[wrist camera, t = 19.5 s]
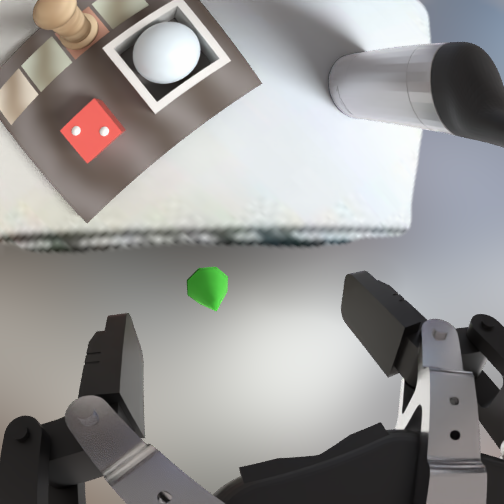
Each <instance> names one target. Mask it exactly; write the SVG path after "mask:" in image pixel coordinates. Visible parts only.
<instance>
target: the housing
mask: <svg viewBox="0 0 504 504" xmlns="http://www.w3.org/2000/svg"><path fill="white" fill-rule="evenodd" d="M173 18H176V20H177V21H178V22H179V23H181V24H183V25H186V26H187V27H189V28H190V29H191V30H192V31H193V32H194V33H195V34H196V36H197V38H198V40H199V43H200V50H201V51H202V52H203V54H204V55H205V56H206V57H207V59H208V60H209V61H210V63H211V64H210V65H209V66H207V67H206V68H204V69H203V70H201V71H200V72H198V73H197V74H195V75H194V76H192V77H191V78H190V79H188V80H187V81H185V82H184V83H182V84H181V85H180V86H178V87H177V88H175V89H174V90H173V91H171V92H170V93H169V94H167V95H166V96H165V97H163V98H162V99H161V100H159V101H158V102H156V100H155V99H154V98H153V96H152V95H151V94H150V93H149V91H148V90H147V89H146V88H145V86H144V85H143V84H142V83H141V82H140V80H139V79H138V78H137V77H136V75H135V74H134V73H133V72H132V70H131V69H130V68H129V67H128V65H127V64H126V63H125V62H124V60H123V59H122V58H121V57H120V56H119V55H120V54H122V53H123V52H124V51H126V50H127V49H128V48H130V47H131V46H132V45H134V44H135V43H136V41H137V39H138V38H139V36H140V35H141V34H142V33H143V32H144V31H145V30H146V29H148V28H149V27H151V26H153V25H155V24H158V23H162V22H168V21H170V20H171V19H173ZM102 49H103V50H104V51H105V52H106V54H107V55H108V56H109V57H110V59H111V60H112V61H113V62H114V64H115V65H116V66H117V67H118V69H119V70H120V71H121V72H122V73H123V75H124V76H125V77H126V78H127V80H128V81H129V82H130V83H131V85H132V86H133V87H134V88H135V90H136V91H137V92H138V93H139V95H140V96H141V97H142V98H143V100H144V101H145V102H146V103H147V105H148V106H149V107H150V108H151V110H152V111H153V112H154V113H155V114H156V113H157V112H159V111H160V110H161V109H163V108H164V107H165V106H167V105H168V104H169V103H171V102H172V101H173V100H175V99H176V98H177V97H179V96H180V95H181V94H183V93H184V92H186V91H187V90H188V89H190V88H191V87H193V86H194V85H196V84H197V83H198V82H200V81H201V80H203V79H204V78H206V77H207V76H209V75H210V74H212V73H213V72H215V71H216V70H218V69H219V68H221V67H223V66H224V65H226V64H227V63H229V62H230V61H231V60H230V59H229V57H228V56H227V55H226V53H225V52H224V51H223V49H222V48H221V47H220V45H219V44H218V43H217V41H216V40H215V39H214V37H213V36H212V35H211V34H210V32H209V31H208V30H207V28H206V27H205V26H204V25H203V23H202V22H201V21H200V20H199V18H198V17H197V16H196V15H195V14H194V12H193V11H192V10H191V9H190V7H189V6H188V5H187V4H186V3H185V1H184V0H173V1H171V2H169V3H168V4H166V5H164V6H163V7H161V8H159V9H158V10H156V11H154V12H153V13H151V14H150V15H148V16H147V17H145V18H144V19H142V20H140V21H139V22H138V23H136V24H135V25H133V26H132V27H130V28H129V29H127V30H126V31H125V32H123V33H122V34H120V35H119V36H118V37H116V38H115V39H114V40H112V41H111V42H110V43H108V44H107V45H106V46H104V47H103V48H102Z"/></svg>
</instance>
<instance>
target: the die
mask: <svg viewBox="0 0 504 504" xmlns="http://www.w3.org/2000/svg"><path fill="white" fill-rule="evenodd" d="M124 131H126V129H125V128H124V127H123V126H122V124H121V123H120V122H119V121H118V119H117V118H116V117H115V116H114V115H113V113H112V112H111V111H110V110H109V108H108V107H107V106H106V105H105V104H104V102H103V101H102V100H99V99H95V98H94V99H93V100H92V101H91V102H90V103H88V104H87V105H86V106H85V107H84V108H83V109H82V110H81V111H80V112H79V113H78V114H77V115H76V116H74V117H73V118H72V119H71V120H70V121H69V122H68V123H67V124H66V125H65V126H64V127H63V128H62V129H61V130H60V132H61V133H62V134H63V135H64V136H65V138H66V139H67V140H68V141H69V142H70V144H71V145H72V146H73V147H74V148H75V150H76V151H77V152H78V153H79V154H80V156H81V157H82V158H83V159H84V160H85V162H86V163H87V164H88V163H89V162H90V161H92V160H93V159H94V158H96V157H97V156H98V155H99V154H100V153H101V152H102V151H103V150H104V149H105V148H106V147H108V146H109V145H110V144H111V143H112V142H113V141H114V140H115V139H116V138H118V137H119V136H120V135H121V134H122V133H123V132H124Z"/></svg>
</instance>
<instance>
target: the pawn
mask: <svg viewBox="0 0 504 504" xmlns="http://www.w3.org/2000/svg"><path fill="white" fill-rule="evenodd" d="M33 20H34V22H35V24H36V25H37V26H38V27H40V28H42V29H45V30H53V31H54V32H56V33H57V34H59V35H60V41H61V43H62V44H63V45H64V46H65V47H67V48H68V49H71V50H80V49H83V48H85V47H87V46H89V45H90V44H91V43H92V42H93V41H94V40H95V38H96V36H97V34H98V30H99V26H98V23H97V21H96V19H95V18H94V17H93V16H92V15H90V14H87V13H82V11H81V10H80V9H79V8H78V6H77V0H38V1H37V2H36V4H35V6H34V9H33Z"/></svg>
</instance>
